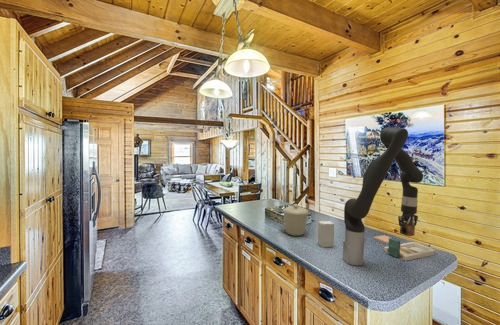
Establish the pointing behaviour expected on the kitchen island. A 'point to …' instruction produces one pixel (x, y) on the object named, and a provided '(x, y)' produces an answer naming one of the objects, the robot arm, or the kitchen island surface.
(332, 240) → the skincare box
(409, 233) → the block
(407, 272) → the kitchen island surface
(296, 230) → the canister
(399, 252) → the l-shaped stand
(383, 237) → the plate
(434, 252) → the cream tray
